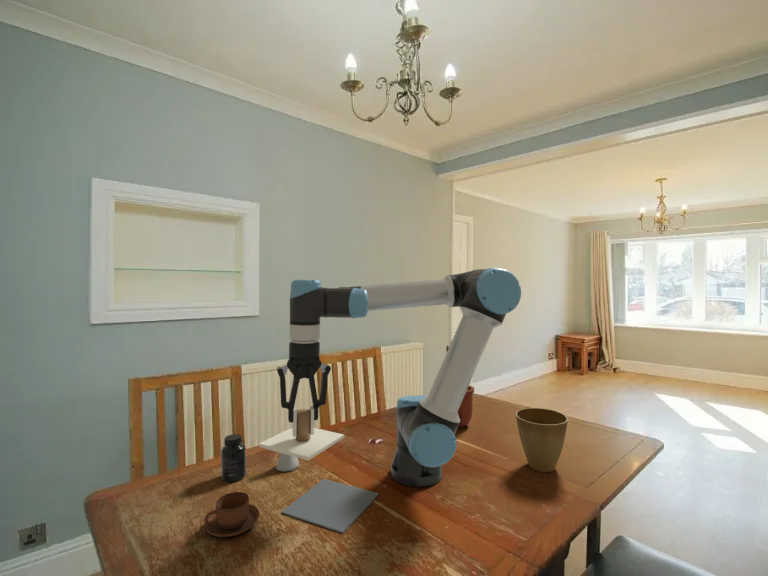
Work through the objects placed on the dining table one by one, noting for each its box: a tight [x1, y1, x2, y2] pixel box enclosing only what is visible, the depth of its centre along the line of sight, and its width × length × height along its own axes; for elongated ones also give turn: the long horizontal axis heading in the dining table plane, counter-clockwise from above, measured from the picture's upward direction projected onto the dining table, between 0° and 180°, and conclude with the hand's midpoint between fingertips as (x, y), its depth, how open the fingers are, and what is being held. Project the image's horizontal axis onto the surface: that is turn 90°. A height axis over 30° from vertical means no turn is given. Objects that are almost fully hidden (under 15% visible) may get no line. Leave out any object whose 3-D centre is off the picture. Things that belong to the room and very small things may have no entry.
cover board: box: [258, 408, 345, 461], centre depth 98 cm, size 15×15×8 cm
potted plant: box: [445, 340, 475, 428], centre depth 158 cm, size 17×16×35 cm
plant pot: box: [515, 407, 569, 473], centre depth 121 cm, size 15×15×16 cm
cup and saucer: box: [203, 491, 260, 538], centre depth 93 cm, size 12×12×6 cm
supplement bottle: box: [220, 433, 247, 483], centre depth 115 cm, size 7×7×12 cm
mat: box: [281, 478, 380, 534], centre depth 101 cm, size 18×18×1 cm
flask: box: [275, 453, 300, 472], centre depth 122 cm, size 7×7×10 cm
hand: (302, 433), depth 98 cm, fingers closed on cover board, 3 cm apart
